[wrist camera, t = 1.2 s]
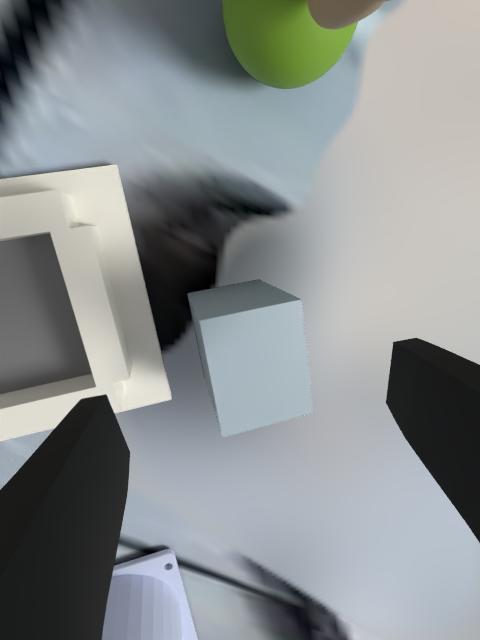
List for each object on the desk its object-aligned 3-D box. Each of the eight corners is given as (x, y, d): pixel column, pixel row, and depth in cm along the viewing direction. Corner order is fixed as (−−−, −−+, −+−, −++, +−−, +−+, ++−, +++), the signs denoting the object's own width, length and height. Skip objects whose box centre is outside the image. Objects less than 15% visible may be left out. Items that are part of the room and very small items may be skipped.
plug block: (271, 362, 20) (313, 412, 15) (204, 378, 20) (222, 437, 14) (259, 279, 19) (301, 299, 13) (187, 293, 18) (199, 320, 13)
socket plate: (171, 395, 19) (172, 417, 17) (-67, 453, 17) (-103, 487, 15) (117, 166, 16) (110, 155, 14) (-185, 204, 14) (-254, 199, 12)
